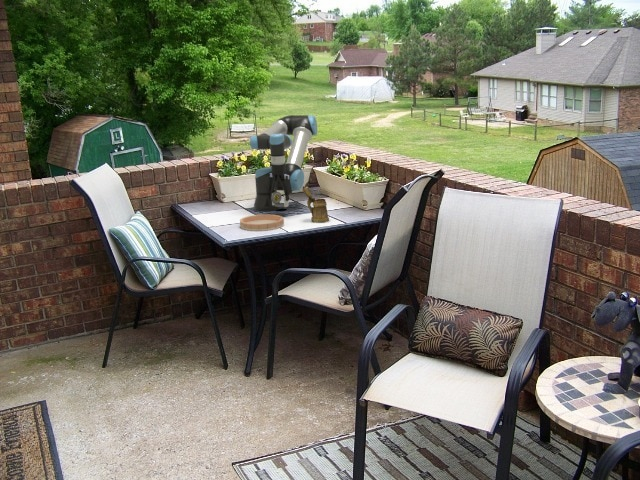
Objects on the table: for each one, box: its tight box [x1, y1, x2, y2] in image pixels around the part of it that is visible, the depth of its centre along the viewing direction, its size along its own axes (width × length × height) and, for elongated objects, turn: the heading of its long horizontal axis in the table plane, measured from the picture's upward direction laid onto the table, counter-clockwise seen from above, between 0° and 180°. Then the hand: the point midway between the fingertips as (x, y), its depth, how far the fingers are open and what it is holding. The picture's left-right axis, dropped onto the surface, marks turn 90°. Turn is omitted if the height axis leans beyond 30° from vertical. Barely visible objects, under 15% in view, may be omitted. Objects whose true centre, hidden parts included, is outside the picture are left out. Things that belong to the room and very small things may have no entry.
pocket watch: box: [271, 187, 285, 208], centre depth 375 cm, size 8×8×10 cm
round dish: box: [239, 214, 285, 232], centre depth 356 cm, size 22×22×3 cm
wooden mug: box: [302, 185, 330, 224], centre depth 360 cm, size 9×14×18 cm, turn 71°
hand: (280, 205), depth 376 cm, fingers closed on pocket watch, 8 cm apart
